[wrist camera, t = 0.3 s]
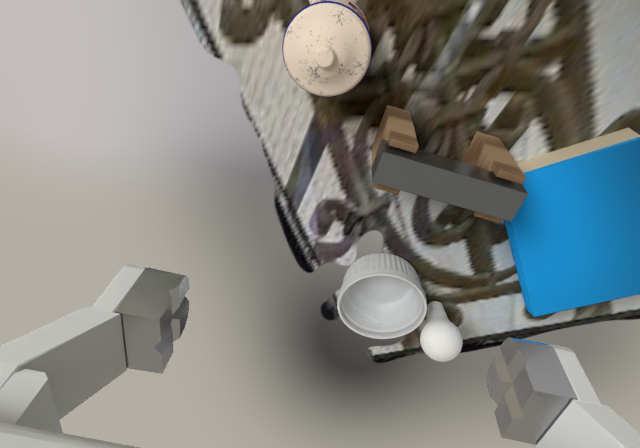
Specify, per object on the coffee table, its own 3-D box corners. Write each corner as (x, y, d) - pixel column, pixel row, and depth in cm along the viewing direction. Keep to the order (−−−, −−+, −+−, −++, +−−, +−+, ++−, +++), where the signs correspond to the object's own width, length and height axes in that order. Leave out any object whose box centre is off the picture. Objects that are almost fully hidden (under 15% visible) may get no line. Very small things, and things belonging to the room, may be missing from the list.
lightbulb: (408, 297, 71) (414, 350, 62) (443, 284, 69) (455, 336, 59) (425, 321, 73) (433, 375, 64) (459, 308, 71) (473, 362, 62)
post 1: (387, 104, 54) (391, 138, 45) (409, 111, 54) (418, 146, 45) (372, 147, 57) (372, 187, 48) (393, 153, 58) (398, 194, 48)
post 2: (476, 131, 55) (499, 169, 45) (498, 137, 55) (526, 177, 46) (456, 172, 58) (474, 216, 49) (477, 178, 58) (498, 223, 49)
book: (646, 134, 50) (658, 291, 61) (627, 122, 53) (642, 272, 65) (494, 183, 55) (531, 320, 66) (486, 169, 58) (523, 301, 70)
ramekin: (342, 309, 74) (340, 340, 68) (336, 246, 67) (332, 275, 61) (421, 308, 72) (426, 339, 66) (423, 243, 65) (428, 272, 59)
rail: (382, 138, 47) (383, 151, 44) (518, 178, 48) (528, 193, 45) (371, 167, 49) (371, 181, 46) (502, 205, 50) (511, 221, 47)
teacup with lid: (379, 65, 52) (381, 92, 42) (307, 85, 54) (293, 115, 44) (355, -48, 46) (352, -47, 36) (275, -21, 48) (252, -13, 38)
